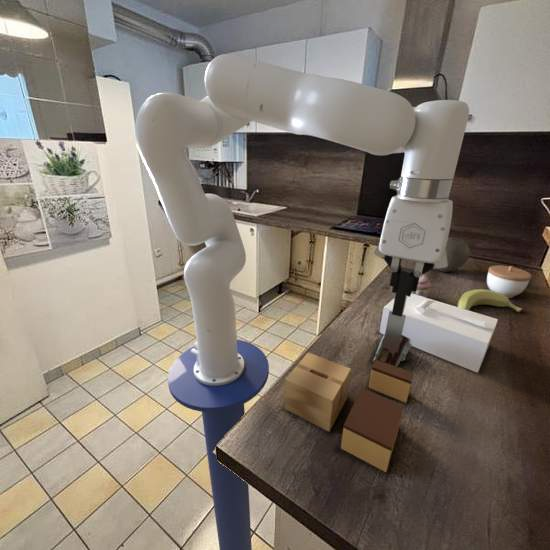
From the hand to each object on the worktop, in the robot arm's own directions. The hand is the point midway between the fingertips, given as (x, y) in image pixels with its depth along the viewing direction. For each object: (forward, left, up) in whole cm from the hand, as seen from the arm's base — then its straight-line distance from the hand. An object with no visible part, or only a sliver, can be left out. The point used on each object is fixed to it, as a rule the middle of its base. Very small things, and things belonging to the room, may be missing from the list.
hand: (402, 291), depth 54 cm
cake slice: (+1, +2, -26) cm, 26 cm away
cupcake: (-1, +54, -26) cm, 60 cm away
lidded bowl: (+26, +76, -26) cm, 84 cm away
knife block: (-11, -10, -26) cm, 30 cm away
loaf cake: (+1, -12, -26) cm, 28 cm away
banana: (+21, +58, -26) cm, 67 cm away
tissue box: (+7, +29, -26) cm, 39 cm away
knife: (0, 0, -13) cm, 13 cm away
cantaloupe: (+6, +90, -18) cm, 92 cm away
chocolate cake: (-1, +15, -26) cm, 30 cm away
